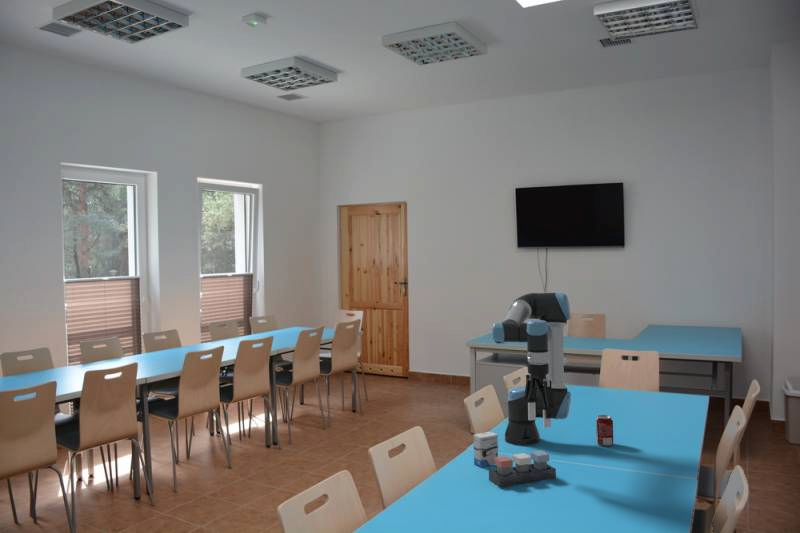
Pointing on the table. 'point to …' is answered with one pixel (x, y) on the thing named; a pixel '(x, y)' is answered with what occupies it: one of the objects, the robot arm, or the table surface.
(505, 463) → the key brick
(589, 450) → the table surface
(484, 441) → the ink box
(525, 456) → the key white
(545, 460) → the key slate
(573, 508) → the table surface
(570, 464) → the table surface
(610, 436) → the soda can
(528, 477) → the console
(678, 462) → the table surface
